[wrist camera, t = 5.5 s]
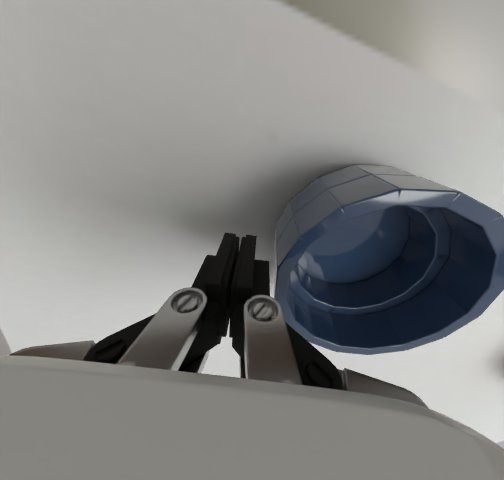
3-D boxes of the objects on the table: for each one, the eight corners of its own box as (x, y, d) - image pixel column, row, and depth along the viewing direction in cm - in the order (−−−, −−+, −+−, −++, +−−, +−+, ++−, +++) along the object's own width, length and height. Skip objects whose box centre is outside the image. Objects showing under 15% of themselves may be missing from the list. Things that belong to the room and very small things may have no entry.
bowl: (280, 160, 11) (286, 183, 7) (457, 166, 10) (588, 196, 6) (270, 284, 16) (268, 345, 11) (392, 294, 15) (439, 362, 11)
